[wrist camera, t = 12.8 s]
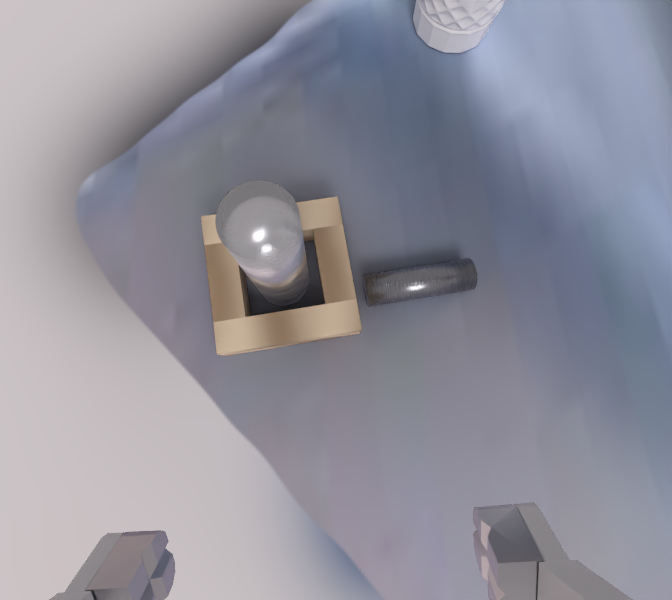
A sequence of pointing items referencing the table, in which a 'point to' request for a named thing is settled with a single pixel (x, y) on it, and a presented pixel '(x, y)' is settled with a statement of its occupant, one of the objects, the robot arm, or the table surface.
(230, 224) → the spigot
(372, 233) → the table surface
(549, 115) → the table surface
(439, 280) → the pin
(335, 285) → the socket block
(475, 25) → the white cup
